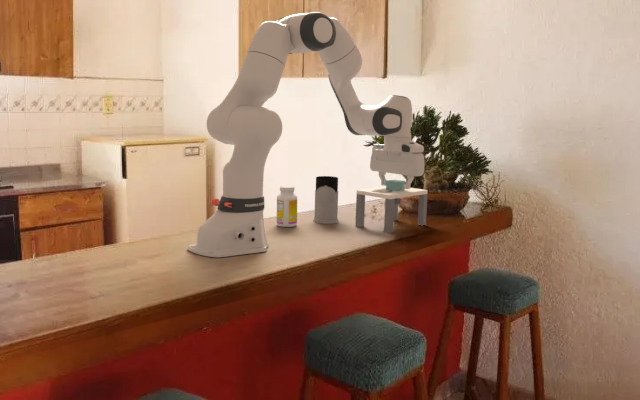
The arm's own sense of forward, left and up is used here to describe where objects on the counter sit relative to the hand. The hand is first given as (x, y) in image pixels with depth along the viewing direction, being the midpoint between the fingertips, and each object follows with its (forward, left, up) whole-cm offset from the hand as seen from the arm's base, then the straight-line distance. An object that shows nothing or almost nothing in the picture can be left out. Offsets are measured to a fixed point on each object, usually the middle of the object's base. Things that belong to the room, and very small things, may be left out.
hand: (395, 187), depth 219 cm
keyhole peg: (0, 0, -5) cm, 5 cm away
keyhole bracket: (-1, 0, -13) cm, 13 cm away
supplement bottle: (-28, +22, -13) cm, 38 cm away
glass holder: (-10, +21, -13) cm, 27 cm away
